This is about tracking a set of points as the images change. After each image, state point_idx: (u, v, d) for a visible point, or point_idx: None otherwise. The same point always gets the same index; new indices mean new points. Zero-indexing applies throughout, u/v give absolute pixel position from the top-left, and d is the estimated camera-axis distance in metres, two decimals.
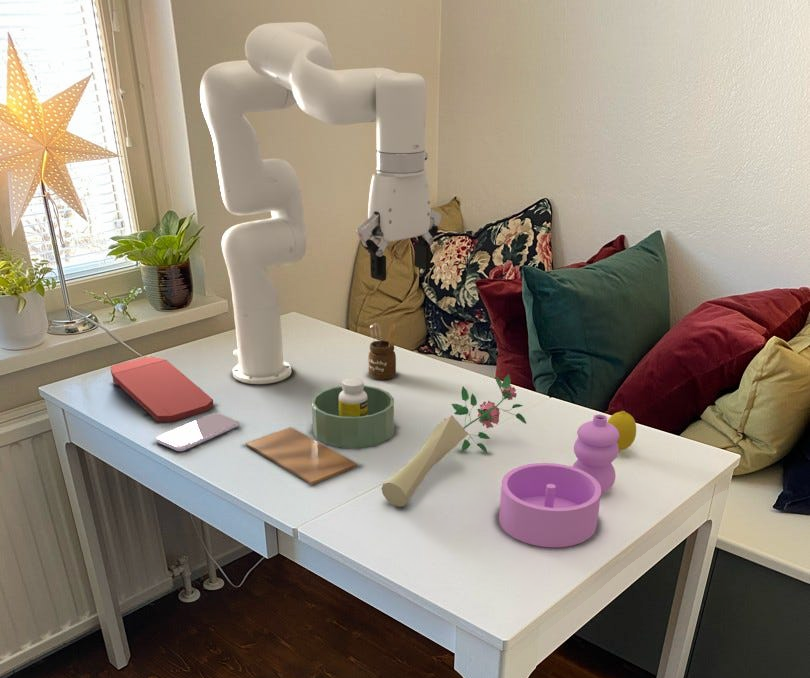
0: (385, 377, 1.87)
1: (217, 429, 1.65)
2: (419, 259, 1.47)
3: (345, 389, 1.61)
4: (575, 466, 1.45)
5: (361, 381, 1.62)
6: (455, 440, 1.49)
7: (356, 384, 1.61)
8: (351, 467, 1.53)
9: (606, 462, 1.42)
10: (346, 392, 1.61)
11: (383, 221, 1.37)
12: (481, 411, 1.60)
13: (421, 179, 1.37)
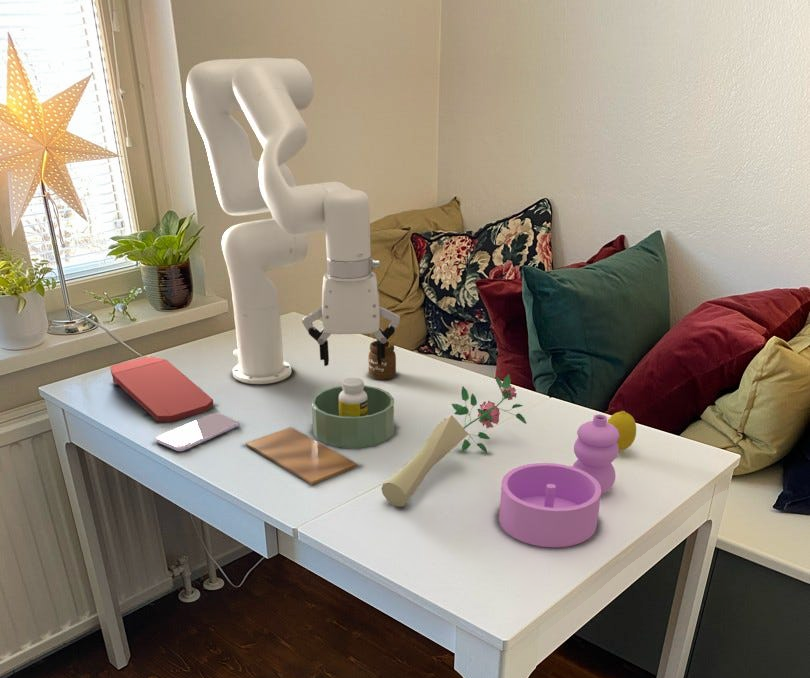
0: (385, 377, 1.87)
1: (217, 429, 1.65)
2: None
3: (345, 389, 1.61)
4: (575, 466, 1.45)
5: (361, 381, 1.62)
6: (455, 440, 1.49)
7: (356, 384, 1.61)
8: (351, 467, 1.53)
9: (606, 462, 1.42)
10: (346, 392, 1.61)
11: (322, 315, 1.53)
12: (481, 411, 1.60)
13: (362, 284, 1.50)
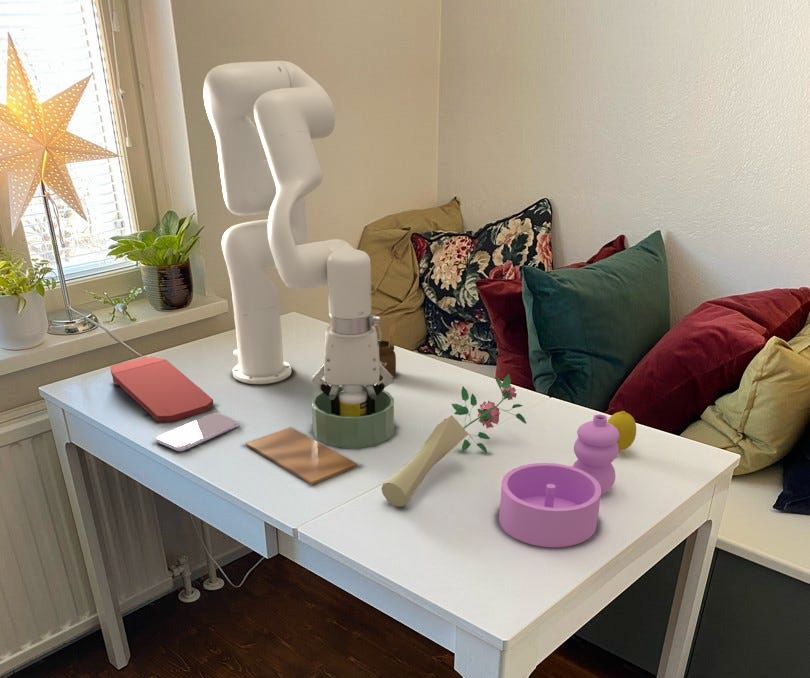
0: None
1: (217, 429, 1.65)
2: None
3: (345, 389, 1.61)
4: (575, 466, 1.45)
5: None
6: (455, 440, 1.49)
7: None
8: (351, 467, 1.53)
9: (606, 462, 1.42)
10: (346, 392, 1.61)
11: (324, 367, 1.58)
12: (481, 411, 1.60)
13: (363, 339, 1.55)
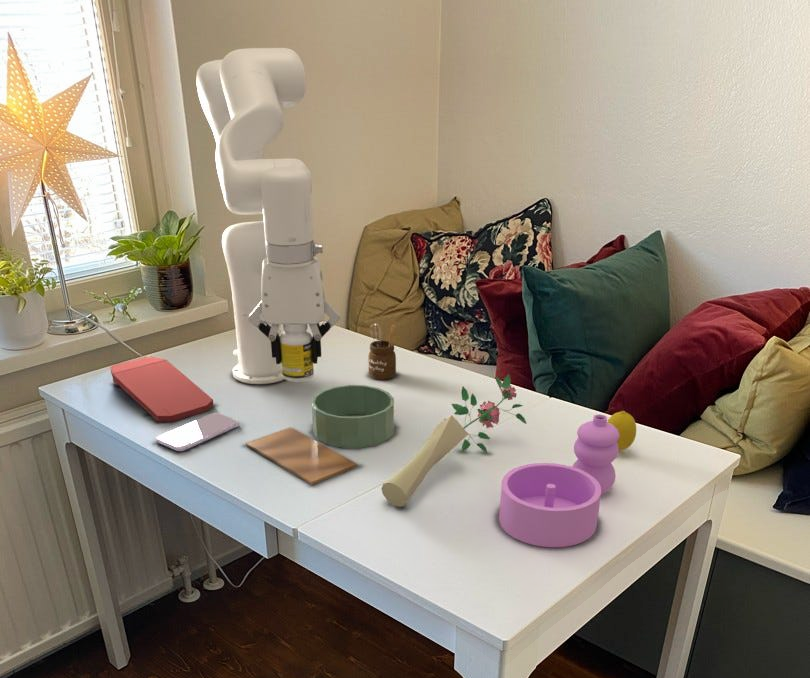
0: (385, 377, 1.87)
1: (217, 429, 1.65)
2: None
3: (286, 329, 1.44)
4: (575, 466, 1.45)
5: None
6: (455, 440, 1.49)
7: None
8: (351, 467, 1.53)
9: (606, 462, 1.42)
10: (287, 332, 1.45)
11: (262, 304, 1.42)
12: (481, 411, 1.60)
13: (303, 270, 1.38)
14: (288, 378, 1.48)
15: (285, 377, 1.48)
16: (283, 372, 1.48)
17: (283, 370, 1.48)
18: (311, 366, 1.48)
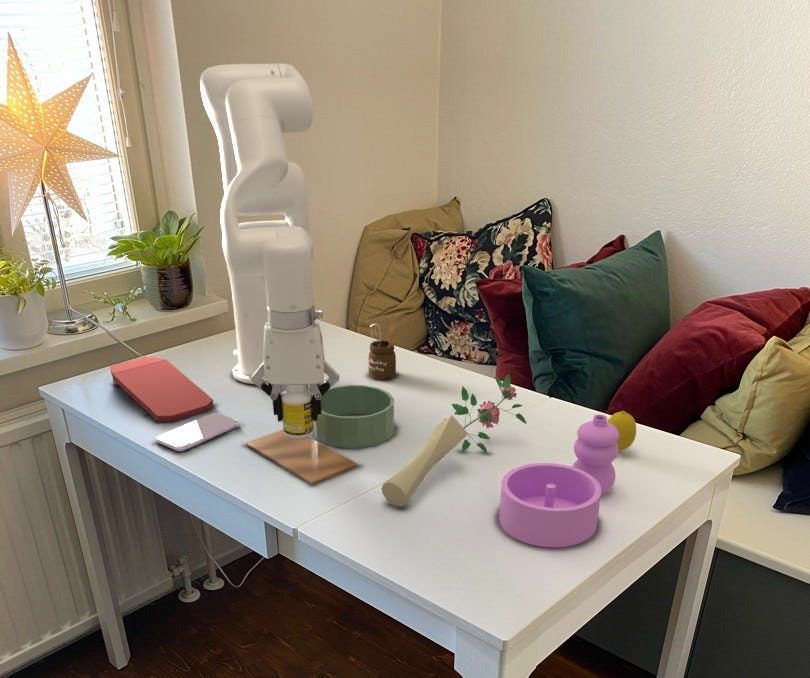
0: (385, 377, 1.87)
1: (217, 429, 1.65)
2: None
3: (287, 389, 1.49)
4: (575, 466, 1.45)
5: None
6: (455, 440, 1.49)
7: None
8: (351, 467, 1.53)
9: (606, 462, 1.42)
10: (288, 392, 1.50)
11: (264, 365, 1.47)
12: (481, 411, 1.60)
13: (304, 335, 1.43)
14: (289, 435, 1.53)
15: (286, 434, 1.53)
16: (284, 429, 1.53)
17: (285, 427, 1.53)
18: (311, 423, 1.53)
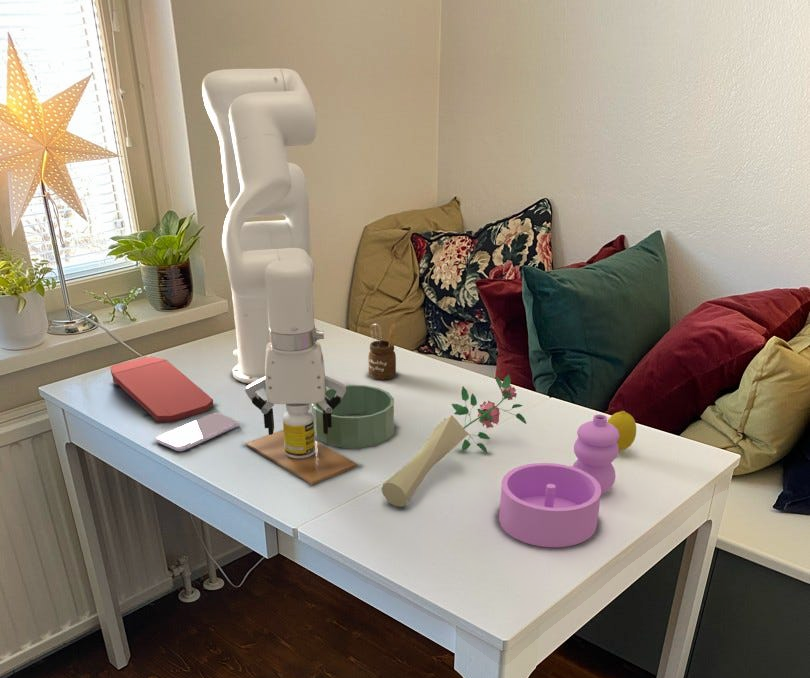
0: (385, 377, 1.87)
1: (217, 429, 1.65)
2: None
3: (289, 410, 1.51)
4: (575, 466, 1.45)
5: None
6: (455, 440, 1.49)
7: (300, 405, 1.51)
8: (351, 467, 1.53)
9: (606, 462, 1.42)
10: (290, 413, 1.52)
11: (265, 385, 1.49)
12: (481, 411, 1.60)
13: (305, 356, 1.45)
14: (291, 455, 1.55)
15: (288, 454, 1.56)
16: (286, 449, 1.55)
17: (286, 448, 1.55)
18: (312, 444, 1.55)
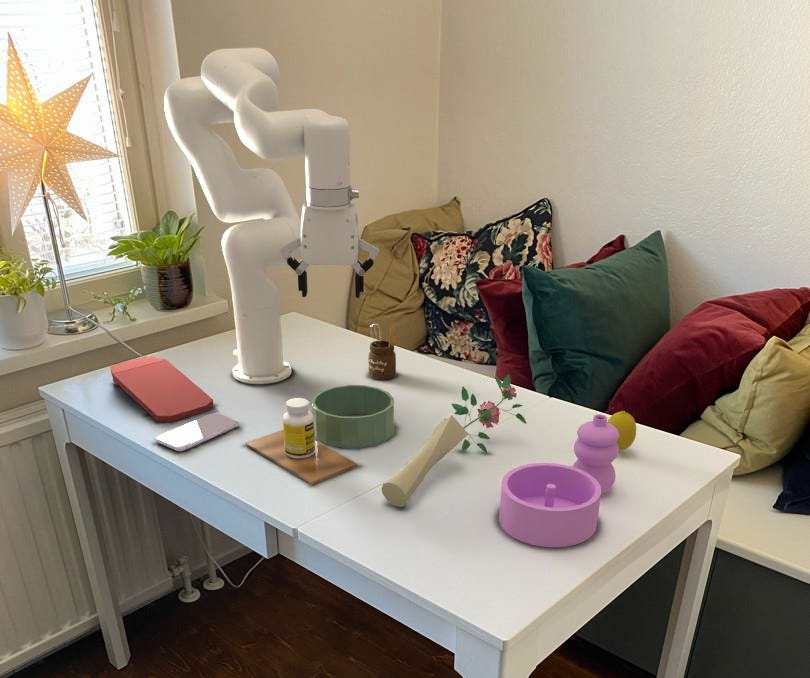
0: (385, 377, 1.87)
1: (217, 429, 1.65)
2: None
3: (289, 410, 1.51)
4: (575, 466, 1.45)
5: (306, 402, 1.52)
6: (455, 440, 1.49)
7: (300, 405, 1.51)
8: (351, 467, 1.53)
9: (606, 462, 1.42)
10: (290, 413, 1.52)
11: (301, 244, 1.53)
12: (481, 411, 1.60)
13: (340, 214, 1.49)
14: (291, 455, 1.55)
15: (288, 454, 1.56)
16: (286, 449, 1.55)
17: (286, 448, 1.55)
18: (312, 444, 1.55)
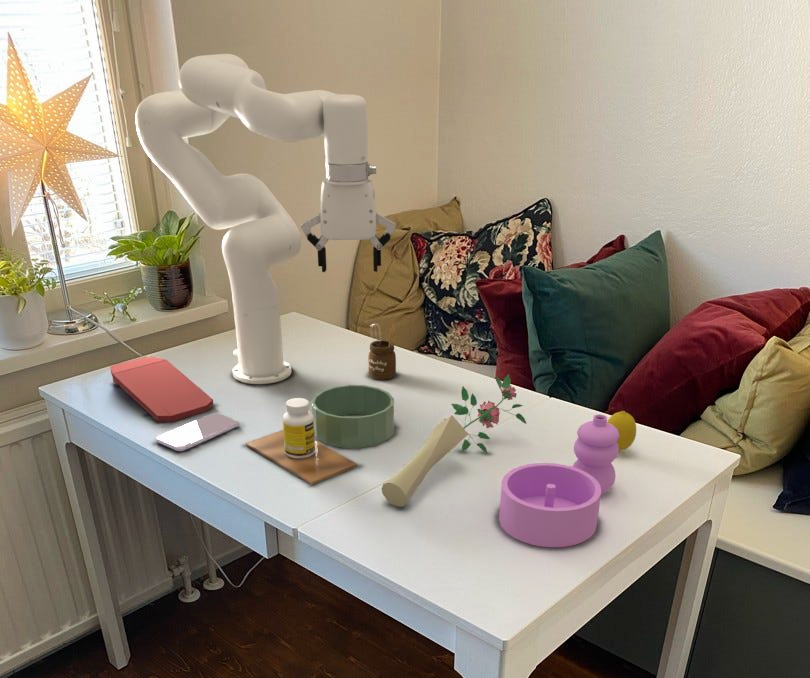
0: (385, 377, 1.87)
1: (217, 429, 1.65)
2: (373, 261, 1.64)
3: (289, 410, 1.51)
4: (575, 466, 1.45)
5: (306, 402, 1.52)
6: (455, 440, 1.49)
7: (300, 405, 1.51)
8: (351, 467, 1.53)
9: (606, 462, 1.42)
10: (290, 413, 1.52)
11: (320, 220, 1.58)
12: (481, 411, 1.60)
13: (359, 189, 1.55)
14: (291, 455, 1.55)
15: (288, 454, 1.56)
16: (286, 449, 1.55)
17: (286, 448, 1.55)
18: (312, 444, 1.55)
